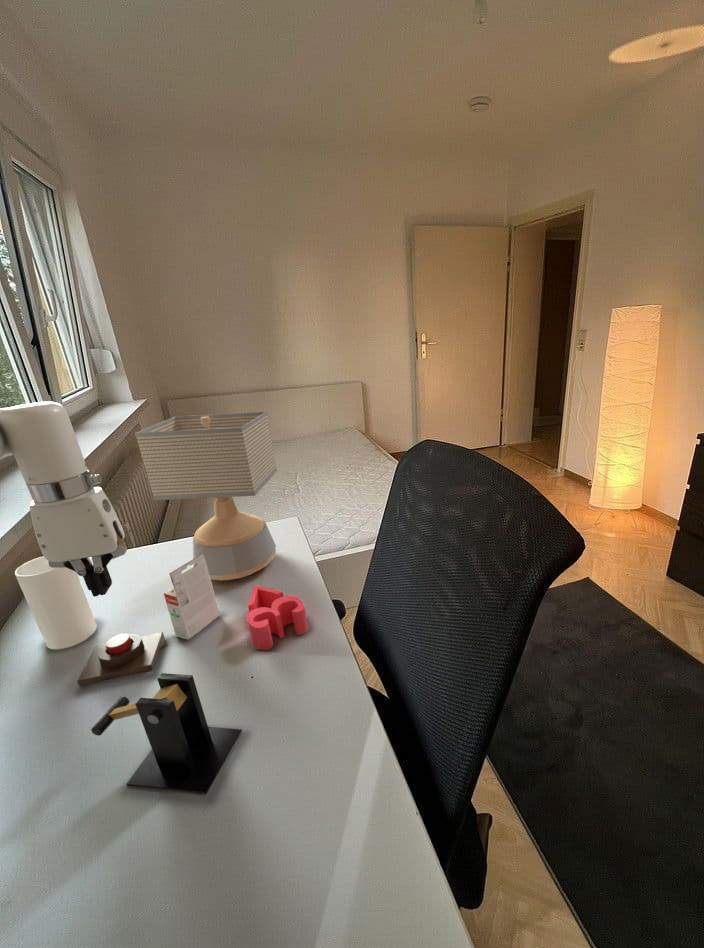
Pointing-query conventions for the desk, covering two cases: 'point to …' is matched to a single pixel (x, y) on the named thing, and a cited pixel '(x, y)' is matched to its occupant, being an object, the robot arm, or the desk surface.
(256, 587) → the letters
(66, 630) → the cup
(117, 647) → the red button
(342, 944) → the desk surface
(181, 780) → the switch bracket
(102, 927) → the desk surface
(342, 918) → the desk surface
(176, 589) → the ink box
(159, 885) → the desk surface
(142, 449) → the desk lamp
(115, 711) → the switch lever
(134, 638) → the button block
